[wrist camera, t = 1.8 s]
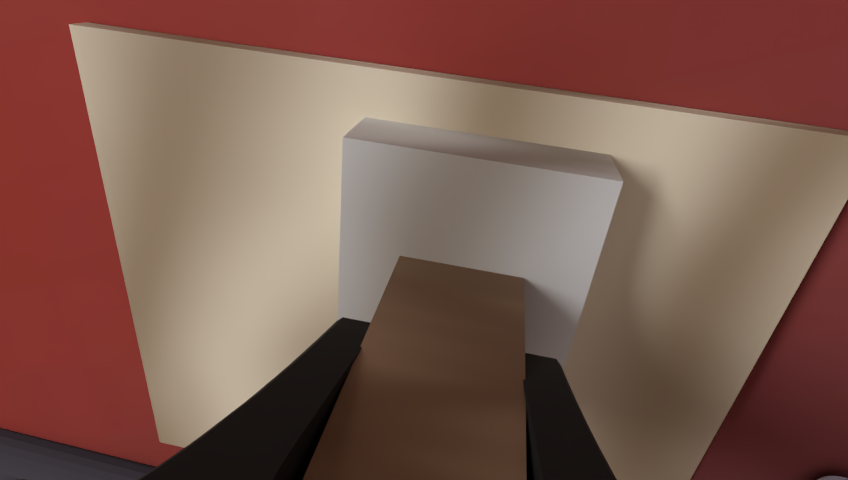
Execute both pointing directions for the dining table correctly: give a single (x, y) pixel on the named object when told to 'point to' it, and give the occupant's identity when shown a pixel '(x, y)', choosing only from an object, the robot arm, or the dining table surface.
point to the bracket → (60, 461)
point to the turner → (455, 294)
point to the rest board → (465, 112)
